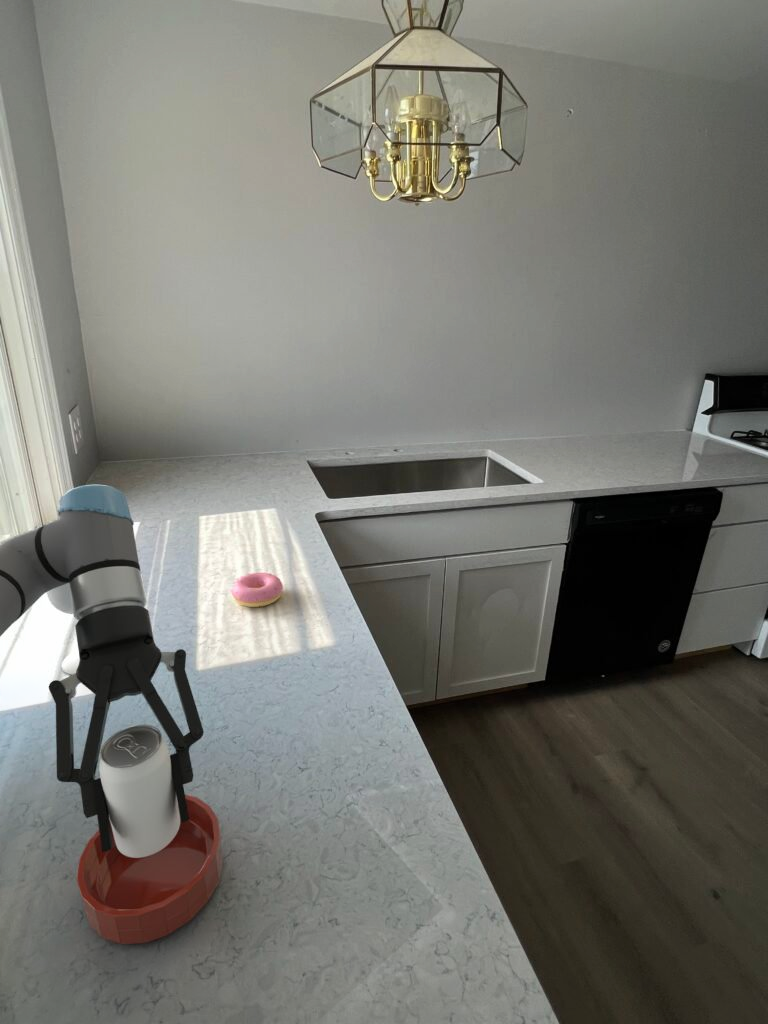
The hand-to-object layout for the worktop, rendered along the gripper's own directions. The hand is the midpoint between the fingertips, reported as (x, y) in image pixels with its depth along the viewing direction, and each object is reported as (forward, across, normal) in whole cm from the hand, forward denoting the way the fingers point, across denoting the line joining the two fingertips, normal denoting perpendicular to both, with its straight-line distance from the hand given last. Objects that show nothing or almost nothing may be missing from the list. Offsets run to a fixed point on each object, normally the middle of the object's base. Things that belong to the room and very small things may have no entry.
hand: (147, 834), depth 55 cm
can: (0, 0, -5) cm, 5 cm away
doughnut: (-35, -27, -51) cm, 67 cm away
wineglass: (-29, +6, -44) cm, 53 cm away
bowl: (+5, 0, -10) cm, 11 cm away
